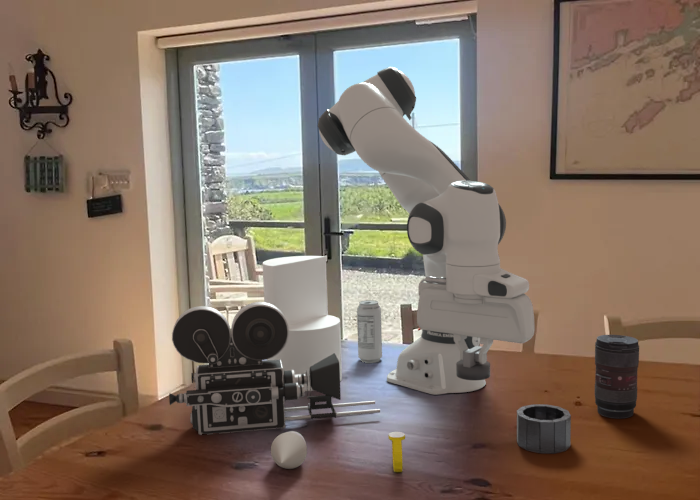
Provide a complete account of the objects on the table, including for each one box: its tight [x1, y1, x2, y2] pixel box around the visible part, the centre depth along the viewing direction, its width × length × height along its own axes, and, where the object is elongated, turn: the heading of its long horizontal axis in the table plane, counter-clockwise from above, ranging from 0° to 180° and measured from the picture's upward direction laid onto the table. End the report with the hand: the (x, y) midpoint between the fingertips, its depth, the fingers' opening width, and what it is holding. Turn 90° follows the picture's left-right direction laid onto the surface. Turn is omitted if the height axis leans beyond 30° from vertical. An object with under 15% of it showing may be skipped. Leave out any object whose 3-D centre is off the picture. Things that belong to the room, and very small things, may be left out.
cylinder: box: [262, 255, 343, 392], centre depth 172 cm, size 17×17×28 cm
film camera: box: [168, 301, 381, 436], centre depth 145 cm, size 40×12×24 cm, turn 99°
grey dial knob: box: [456, 346, 491, 380], centre depth 125 cm, size 6×6×4 cm
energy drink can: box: [356, 299, 383, 364], centre depth 188 cm, size 6×6×15 cm
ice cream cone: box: [270, 430, 308, 470], centre depth 124 cm, size 6×6×15 cm
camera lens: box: [594, 334, 640, 419], centre depth 146 cm, size 8×8×15 cm
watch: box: [387, 431, 406, 473], centre depth 123 cm, size 6×3×6 cm, turn 0°
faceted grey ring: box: [516, 403, 572, 455], centre depth 132 cm, size 9×9×6 cm
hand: (473, 361), depth 125 cm, fingers closed on grey dial knob
